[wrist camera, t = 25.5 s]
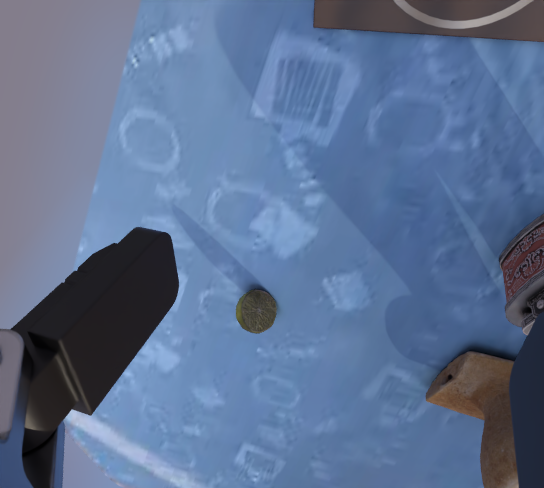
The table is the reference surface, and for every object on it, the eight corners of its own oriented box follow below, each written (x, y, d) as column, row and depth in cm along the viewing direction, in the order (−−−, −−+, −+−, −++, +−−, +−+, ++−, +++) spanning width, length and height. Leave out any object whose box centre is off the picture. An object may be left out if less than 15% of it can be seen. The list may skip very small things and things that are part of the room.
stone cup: (617, 367, 44) (673, 527, 32) (557, 430, 51) (585, 578, 39) (459, 319, 47) (459, 450, 35) (424, 385, 54) (414, 511, 42)
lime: (248, 278, 53) (232, 306, 50) (285, 294, 53) (271, 323, 49) (241, 302, 56) (225, 330, 52) (276, 318, 56) (262, 347, 52)
